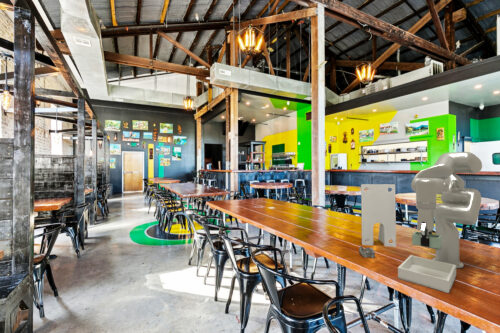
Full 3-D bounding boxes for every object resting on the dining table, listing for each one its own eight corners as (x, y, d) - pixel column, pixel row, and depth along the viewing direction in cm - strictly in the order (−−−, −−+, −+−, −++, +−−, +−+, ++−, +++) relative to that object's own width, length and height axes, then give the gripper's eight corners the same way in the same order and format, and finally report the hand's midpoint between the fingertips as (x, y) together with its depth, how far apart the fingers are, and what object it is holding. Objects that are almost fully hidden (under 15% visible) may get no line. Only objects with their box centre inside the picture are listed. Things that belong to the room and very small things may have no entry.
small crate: (415, 241, 115) (415, 231, 115) (441, 246, 108) (441, 235, 108) (412, 244, 111) (412, 234, 111) (439, 249, 103) (439, 238, 103)
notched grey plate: (388, 240, 165) (387, 183, 165) (396, 246, 151) (395, 184, 151) (357, 238, 169) (356, 182, 170) (362, 244, 155) (361, 184, 156)
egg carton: (358, 251, 144) (358, 244, 144) (371, 252, 142) (371, 245, 142) (361, 257, 134) (361, 250, 134) (376, 258, 132) (376, 251, 132)
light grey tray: (410, 264, 123) (410, 255, 123) (456, 275, 110) (456, 265, 110) (398, 278, 108) (397, 267, 108) (448, 293, 95) (448, 280, 95)
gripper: (420, 203, 118) (421, 238, 118) (411, 207, 106) (412, 246, 106) (439, 204, 113) (440, 242, 112) (432, 209, 101) (433, 251, 101)
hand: (426, 244), depth 109 cm, fingers closed on small crate, 6 cm apart
